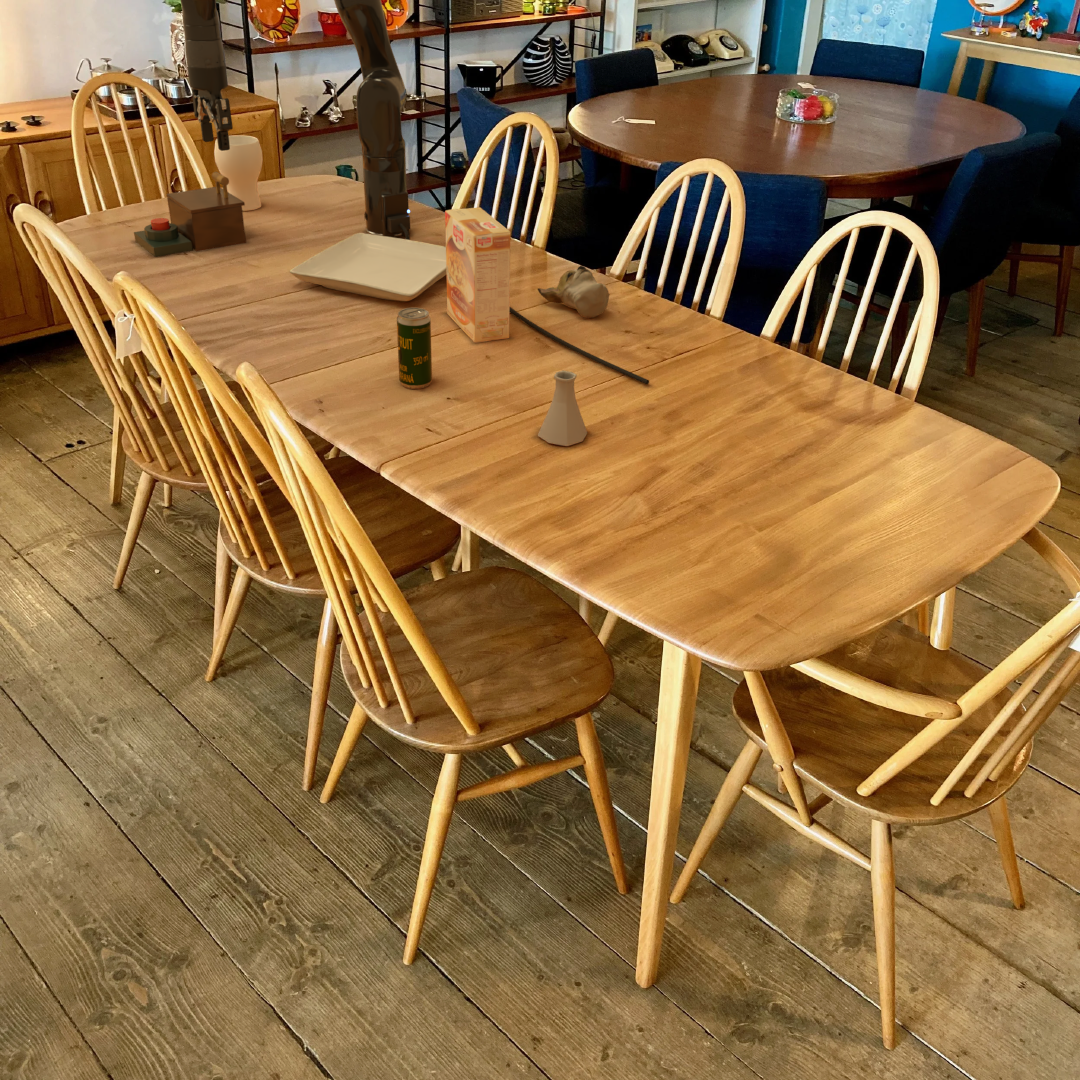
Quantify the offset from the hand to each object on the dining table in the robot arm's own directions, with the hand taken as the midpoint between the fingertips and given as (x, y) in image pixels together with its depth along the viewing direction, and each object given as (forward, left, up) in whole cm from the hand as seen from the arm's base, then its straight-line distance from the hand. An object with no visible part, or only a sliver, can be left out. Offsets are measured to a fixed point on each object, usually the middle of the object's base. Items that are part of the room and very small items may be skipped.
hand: (216, 145), depth 231 cm
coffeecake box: (-72, -18, -19) cm, 77 cm away
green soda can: (-87, +4, -19) cm, 89 cm away
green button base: (0, +14, -19) cm, 24 cm away
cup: (+18, -12, -19) cm, 29 cm away
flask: (-115, -5, -19) cm, 117 cm away
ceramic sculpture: (-75, -39, -19) cm, 87 cm away
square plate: (-41, -16, -19) cm, 48 cm away
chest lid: (0, +4, -11) cm, 12 cm away
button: (0, +14, -15) cm, 21 cm away
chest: (0, +4, -19) cm, 19 cm away
